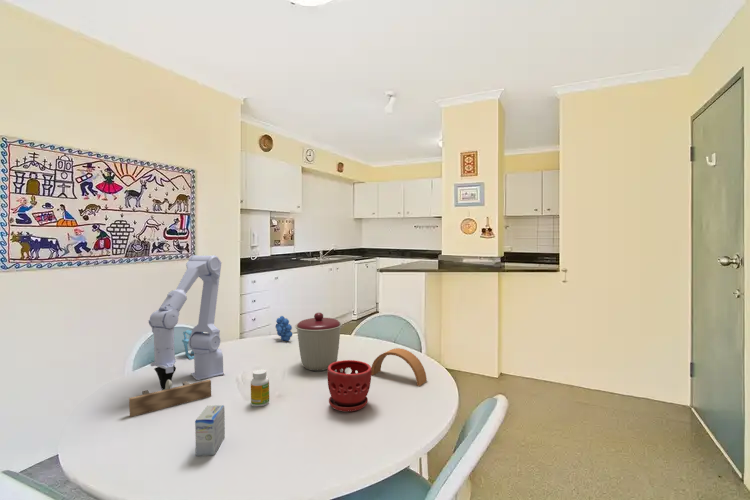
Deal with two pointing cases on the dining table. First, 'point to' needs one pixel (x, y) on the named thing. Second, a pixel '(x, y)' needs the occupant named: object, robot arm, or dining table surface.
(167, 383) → the pacifier
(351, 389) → the plant pot
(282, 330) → the grapes
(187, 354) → the chair
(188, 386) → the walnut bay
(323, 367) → the canister
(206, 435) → the medicine box
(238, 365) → the dining table surface
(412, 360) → the arch
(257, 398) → the supplement bottle
